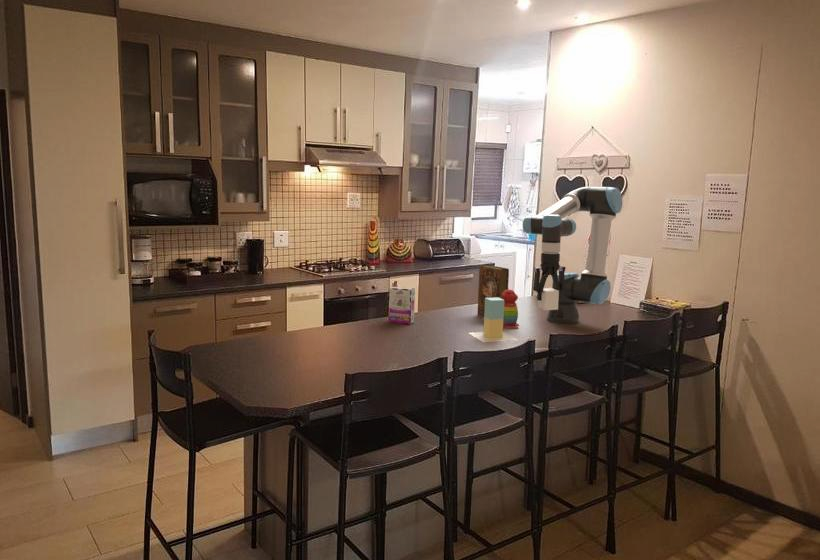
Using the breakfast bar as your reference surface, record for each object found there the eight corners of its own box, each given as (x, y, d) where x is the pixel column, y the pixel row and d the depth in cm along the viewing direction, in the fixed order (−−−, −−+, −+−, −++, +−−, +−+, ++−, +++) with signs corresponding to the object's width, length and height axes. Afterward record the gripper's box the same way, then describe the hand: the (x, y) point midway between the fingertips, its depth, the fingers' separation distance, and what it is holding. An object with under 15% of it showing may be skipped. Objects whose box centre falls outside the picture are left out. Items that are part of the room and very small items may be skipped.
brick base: (496, 334, 258) (497, 315, 257) (502, 337, 253) (503, 318, 252) (483, 335, 257) (484, 316, 255) (489, 338, 251) (490, 319, 250)
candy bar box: (414, 322, 281) (415, 287, 279) (410, 325, 277) (411, 289, 274) (392, 320, 285) (393, 285, 283) (388, 322, 281) (388, 287, 278)
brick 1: (497, 315, 257) (498, 297, 256) (503, 318, 252) (504, 300, 250) (484, 316, 255) (485, 297, 254) (490, 319, 250) (491, 300, 249)
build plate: (501, 333, 265) (501, 330, 265) (518, 342, 250) (518, 340, 250) (467, 335, 260) (467, 332, 260) (483, 344, 245) (483, 342, 245)
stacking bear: (518, 331, 268) (520, 292, 265) (495, 330, 270) (497, 290, 267) (519, 326, 279) (521, 288, 276) (497, 324, 281) (498, 287, 278)
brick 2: (550, 306, 257) (551, 287, 255) (558, 309, 251) (558, 290, 250) (537, 307, 255) (538, 288, 253) (545, 310, 249) (546, 291, 248)
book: (475, 315, 301) (477, 265, 297) (484, 313, 304) (486, 264, 300) (498, 321, 288) (500, 269, 284) (506, 320, 291) (509, 268, 287)
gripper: (565, 250, 255) (563, 304, 259) (525, 252, 249) (523, 306, 254) (575, 252, 248) (572, 308, 252) (534, 254, 242) (532, 310, 246)
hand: (548, 307), depth 253 cm, fingers closed on brick 2, 6 cm apart
